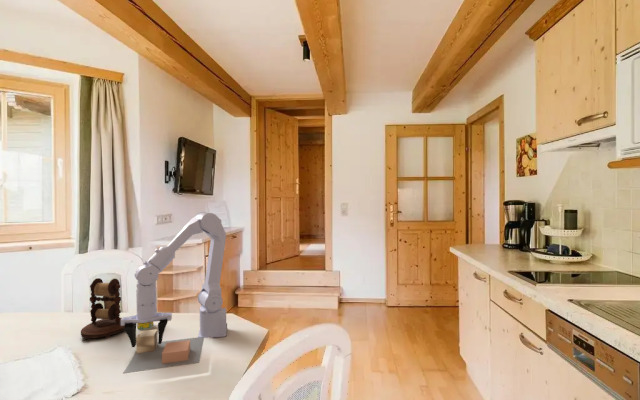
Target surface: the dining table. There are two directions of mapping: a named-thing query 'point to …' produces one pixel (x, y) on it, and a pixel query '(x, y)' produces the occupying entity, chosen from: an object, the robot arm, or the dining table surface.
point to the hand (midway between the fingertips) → (147, 344)
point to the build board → (157, 357)
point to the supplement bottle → (144, 325)
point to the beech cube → (146, 341)
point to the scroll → (104, 310)
